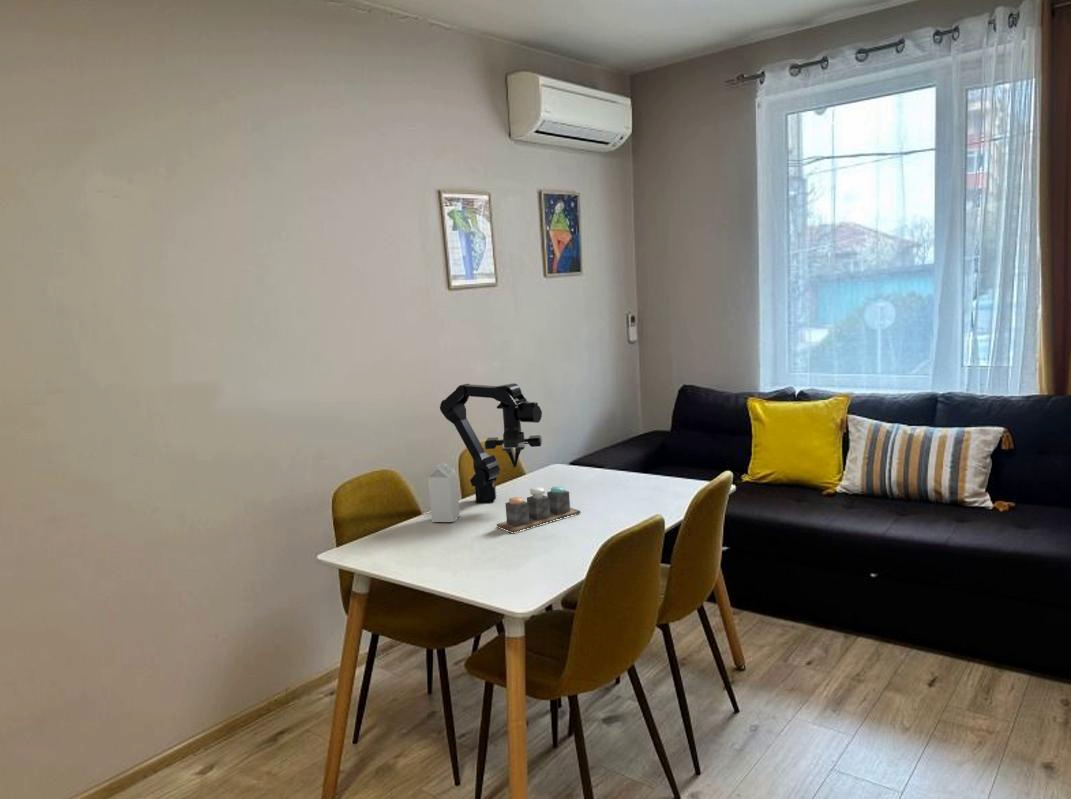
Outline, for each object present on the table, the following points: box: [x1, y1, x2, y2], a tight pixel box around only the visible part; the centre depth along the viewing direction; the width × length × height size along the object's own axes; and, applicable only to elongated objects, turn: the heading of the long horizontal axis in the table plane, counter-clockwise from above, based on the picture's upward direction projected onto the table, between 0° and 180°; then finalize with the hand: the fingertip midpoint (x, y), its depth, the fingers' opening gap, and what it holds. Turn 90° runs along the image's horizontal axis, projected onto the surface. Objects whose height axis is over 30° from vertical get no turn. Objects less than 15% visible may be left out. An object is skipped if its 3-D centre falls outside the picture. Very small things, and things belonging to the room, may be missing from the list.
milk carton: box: [427, 460, 461, 523], centre depth 232 cm, size 7×7×19 cm
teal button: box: [550, 485, 566, 494], centre depth 230 cm, size 4×4×4 cm
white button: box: [529, 486, 545, 499], centre depth 225 cm, size 4×4×4 cm
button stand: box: [496, 490, 581, 534], centre depth 226 cm, size 26×9×8 cm, turn 126°
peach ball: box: [508, 496, 525, 505], centre depth 221 cm, size 4×4×4 cm
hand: (515, 467), depth 244 cm, fingers closed
